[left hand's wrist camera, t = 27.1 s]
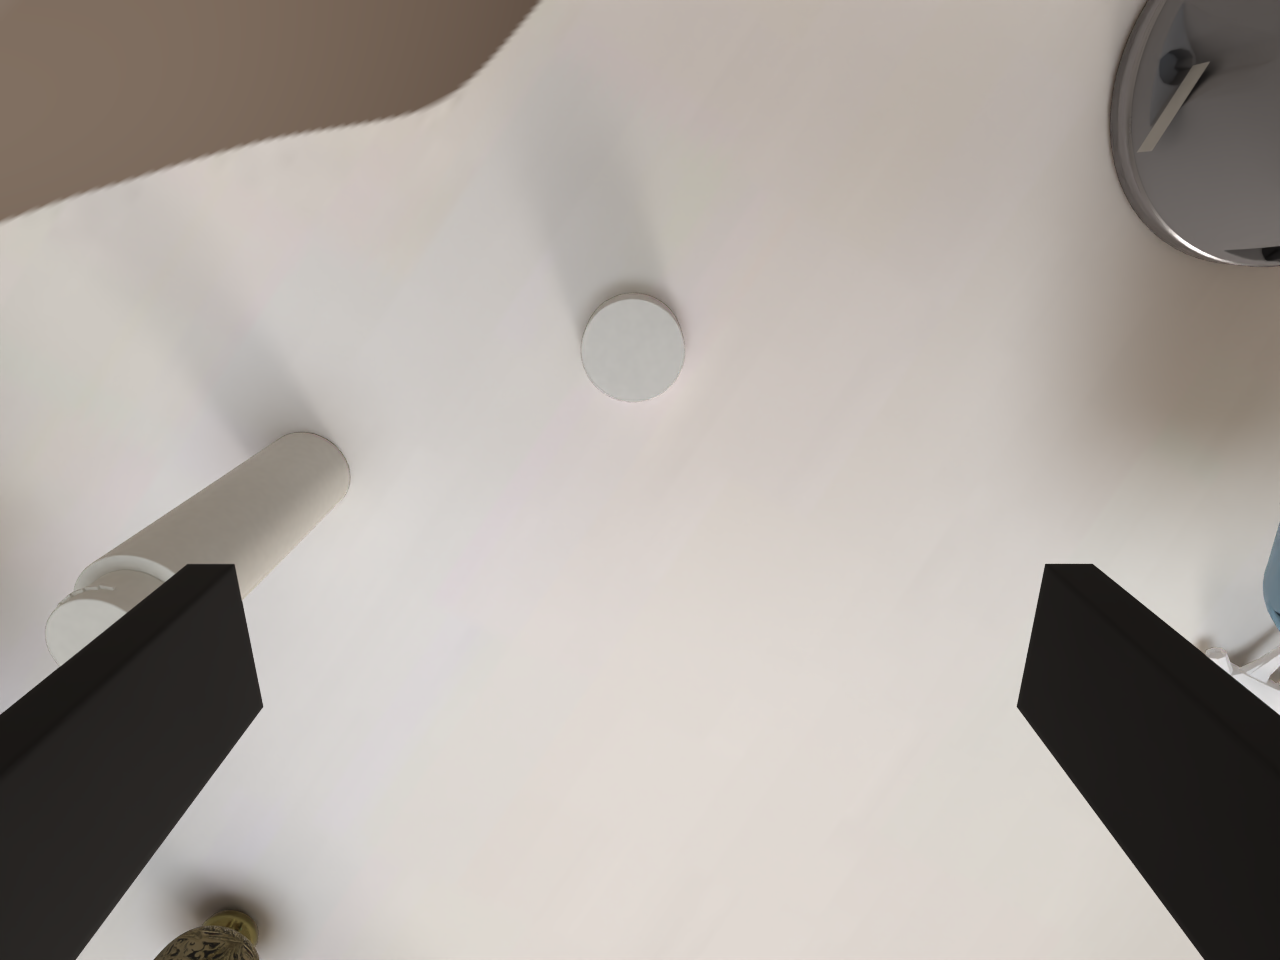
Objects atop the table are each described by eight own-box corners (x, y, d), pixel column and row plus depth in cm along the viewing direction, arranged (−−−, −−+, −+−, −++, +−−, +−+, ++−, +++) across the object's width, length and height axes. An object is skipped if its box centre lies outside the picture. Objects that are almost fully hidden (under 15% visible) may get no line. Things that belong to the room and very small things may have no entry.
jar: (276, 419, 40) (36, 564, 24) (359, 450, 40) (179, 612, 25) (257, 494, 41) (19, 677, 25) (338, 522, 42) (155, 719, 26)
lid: (610, 406, 39) (608, 418, 37) (567, 318, 38) (562, 326, 36) (698, 366, 39) (701, 377, 37) (657, 275, 37) (658, 280, 35)
